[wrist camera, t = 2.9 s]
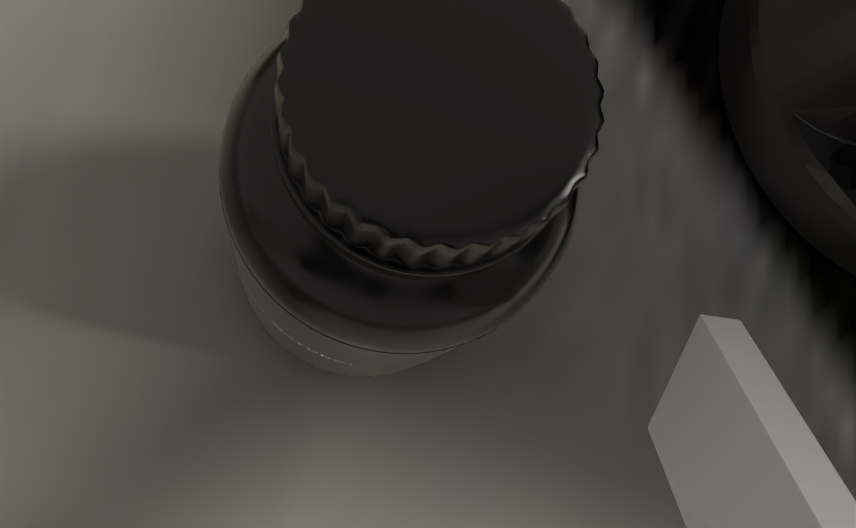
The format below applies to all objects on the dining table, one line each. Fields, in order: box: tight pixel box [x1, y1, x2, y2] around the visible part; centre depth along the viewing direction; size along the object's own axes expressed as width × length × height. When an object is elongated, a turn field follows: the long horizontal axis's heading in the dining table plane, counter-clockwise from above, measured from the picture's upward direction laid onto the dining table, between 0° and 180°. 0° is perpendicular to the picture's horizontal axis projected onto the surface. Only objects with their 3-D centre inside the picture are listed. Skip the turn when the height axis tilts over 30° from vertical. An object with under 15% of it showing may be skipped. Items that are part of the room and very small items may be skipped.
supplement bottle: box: [219, 0, 604, 377], centre depth 17 cm, size 7×7×12 cm
